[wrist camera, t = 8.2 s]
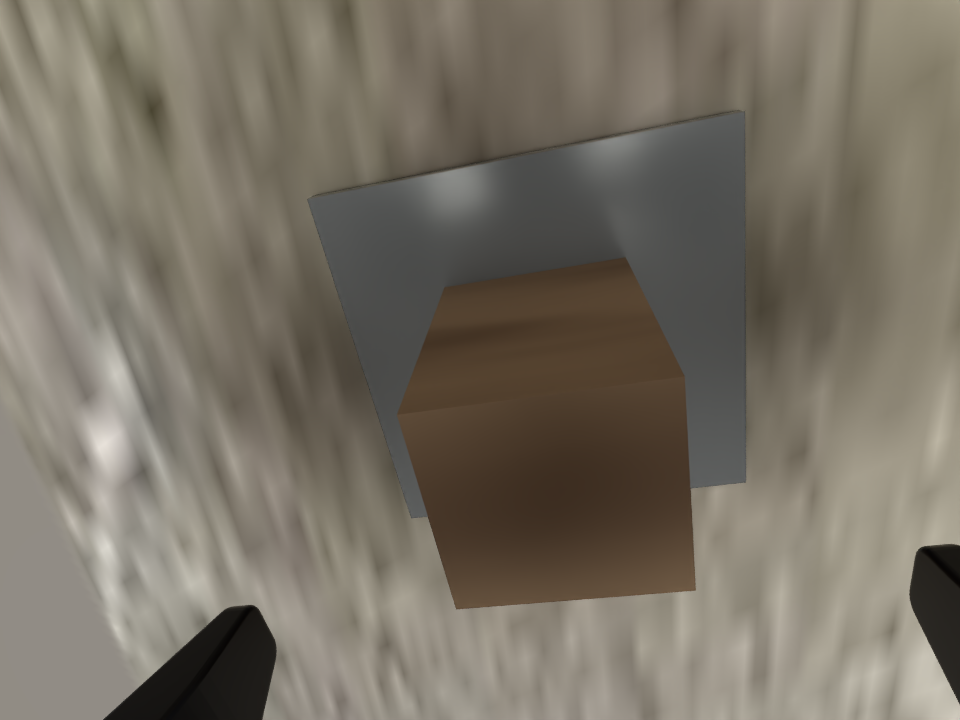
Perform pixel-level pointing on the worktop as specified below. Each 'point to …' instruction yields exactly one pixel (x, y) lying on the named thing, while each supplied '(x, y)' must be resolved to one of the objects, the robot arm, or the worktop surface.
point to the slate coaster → (560, 260)
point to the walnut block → (552, 440)
